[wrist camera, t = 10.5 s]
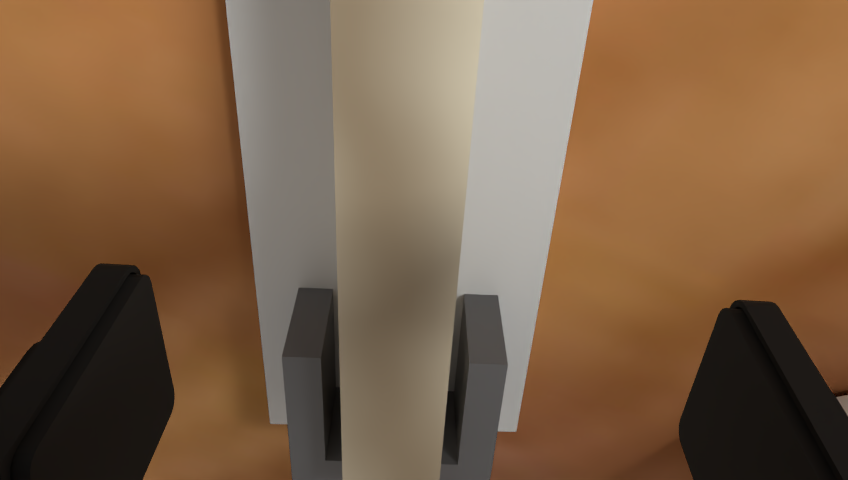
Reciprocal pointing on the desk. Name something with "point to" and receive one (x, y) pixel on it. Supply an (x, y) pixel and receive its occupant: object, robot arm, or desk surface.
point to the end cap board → (482, 228)
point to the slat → (399, 221)
